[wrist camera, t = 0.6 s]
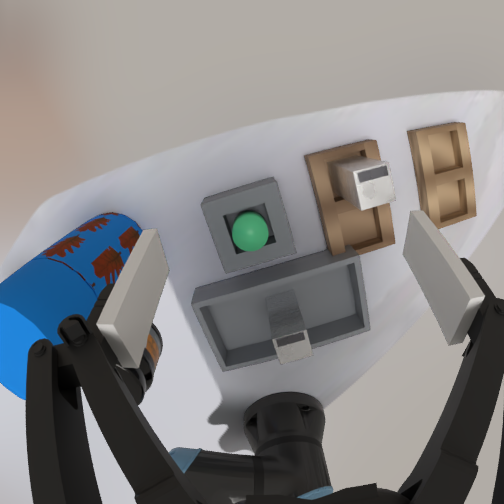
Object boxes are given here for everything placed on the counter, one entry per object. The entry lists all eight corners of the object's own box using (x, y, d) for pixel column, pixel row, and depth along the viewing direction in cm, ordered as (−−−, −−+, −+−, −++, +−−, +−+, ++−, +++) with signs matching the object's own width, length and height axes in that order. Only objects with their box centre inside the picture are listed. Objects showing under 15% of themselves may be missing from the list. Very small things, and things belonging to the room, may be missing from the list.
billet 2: (362, 184, 40) (396, 200, 30) (334, 192, 40) (362, 211, 30) (355, 154, 38) (389, 162, 29) (327, 162, 39) (353, 172, 29)
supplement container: (150, 301, 45) (126, 351, 34) (173, 357, 49) (159, 411, 38) (92, 312, 46) (60, 358, 35) (118, 363, 49) (96, 413, 38)
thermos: (79, 209, 40) (-45, 289, 17) (149, 212, 41) (51, 309, 17) (86, 280, 44) (-6, 391, 20) (152, 287, 44) (87, 420, 21)
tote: (360, 314, 47) (370, 330, 43) (224, 353, 49) (222, 371, 45) (348, 243, 43) (359, 254, 39) (195, 288, 45) (191, 304, 40)
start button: (270, 237, 39) (272, 245, 36) (238, 246, 39) (238, 255, 37) (261, 206, 38) (262, 212, 35) (228, 216, 38) (227, 223, 35)
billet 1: (300, 312, 46) (313, 356, 36) (273, 320, 46) (280, 365, 37) (293, 289, 44) (306, 330, 35) (265, 297, 45) (272, 340, 35)
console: (291, 242, 43) (296, 252, 39) (226, 261, 43) (225, 273, 40) (273, 176, 40) (276, 181, 36) (204, 198, 40) (200, 204, 36)
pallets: (467, 211, 42) (476, 215, 39) (329, 255, 44) (334, 262, 41) (455, 122, 37) (464, 122, 35) (304, 155, 39) (308, 157, 36)
